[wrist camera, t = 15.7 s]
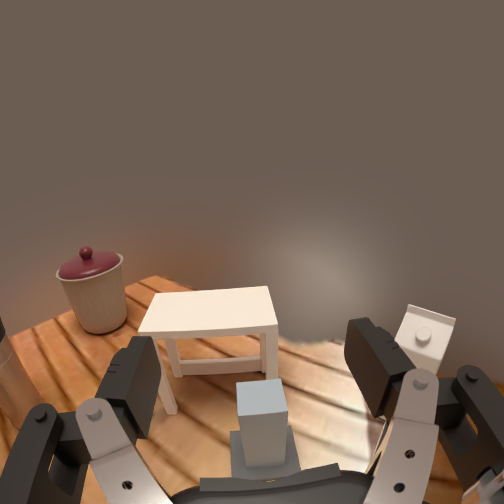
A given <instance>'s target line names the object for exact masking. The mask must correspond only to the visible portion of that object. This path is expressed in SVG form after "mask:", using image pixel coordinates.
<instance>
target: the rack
mask: <svg viewBox="0 0 504 504" xmlns="http://www.w3.org/2000/svg"><path fill="white" fill-rule="evenodd" d="M251 334H260V354H261V356H252V357H239V358H224V359H204V360H180V356H179V352H178V348H177V344H176V340H175V339H184V338H207V337H225V336H239V335H251ZM138 335H139V336H151V337H152V339H153V342H154V346H155V349H156V352H157V356H158V359H159V362H160V366H161V380H160V384H159V388H158V393H159V395H160V398H161V400H162V403H163V405H164V408H165V410H166V412H167V414H169V415H177V409H178V407H177V404H176V402H175V399H174V396H173V393H172V390H171V387H170V384H169V381H168V378H167V375H166V372H165V369H164V366H163V363H162V359H161V356H160V353H159V349H158V346H157V342H156V339H164V343H165V346H166V350H167V354H168V357H169V361H170V364H171V367H172V371H173V374H174V377H183V375H208V374H228V373H243V372H255V371H262V373H266V380H271V379H278V322H277V319H276V316H275V312H274V308H273V305H272V301H271V298H270V294H269V291H268V287H267V286H261V287H249V288H235V289H222V290H207V291H191V292H173V293H156V294H155V296H154V298H153V300H152V302H151V304H150V306H149V309H148V311H147V313H146V315H145V317H144V319H143V321H142V323H141V326H140V328H139V330H138Z"/></svg>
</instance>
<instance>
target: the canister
mask: <svg viewBox="0 0 504 504" xmlns="http://www.w3.org/2000/svg"><path fill="white" fill-rule="evenodd" d="M122 262H123V257H122V256H121V255H120V254H117V253H114V252H111V251H95V252H93V251H92V249H91V248H90V247H88V246H85V247H82V248H81V249H80V251H79V256H77V257H75V258H72V259H70V260H68V261H67V262H65V263H64V264H63V265H62V266H61V268H60V269H59V270H58V271H57V273H56V277H57V279H58V280H60V281H61V284H62V286H63V289H64V291H65V293H66V296H67V298H68V300H69V303H70V305H71V307H72V309H73V311H74V313H75V315H76V317H77V319H78V321H79V323H80V324H81V326H82V327H83V328H84V329H85V330H86V331H88V332H90V333H94V334H102V333H108V332H111V331H113V330H115V329H117V328H118V327H120V326H121V325H122V324H123V323H124V321H125V319H126V316H127V305H126V297H125V289H124V282H123V273H122V265H121V264H122Z"/></svg>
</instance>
